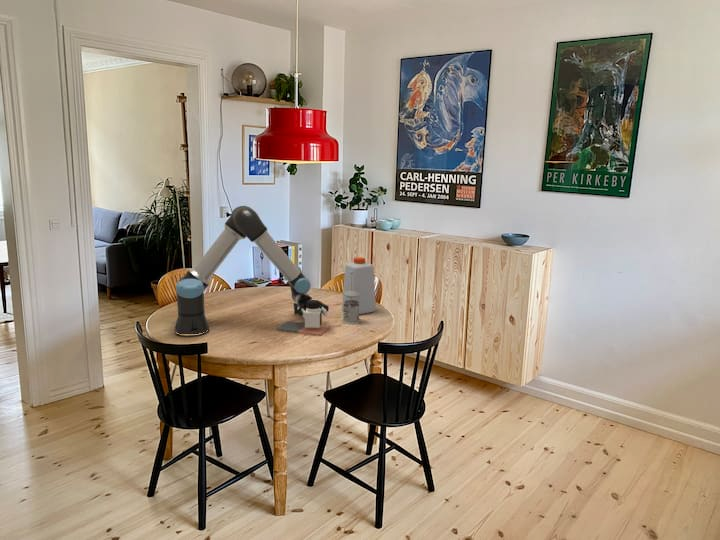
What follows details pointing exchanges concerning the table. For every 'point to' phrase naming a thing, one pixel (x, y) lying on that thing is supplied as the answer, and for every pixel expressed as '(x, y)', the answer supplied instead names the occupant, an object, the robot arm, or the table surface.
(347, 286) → the plastic bottle
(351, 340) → the table surface
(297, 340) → the table surface
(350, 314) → the french press
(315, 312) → the medicine bottle
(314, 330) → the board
